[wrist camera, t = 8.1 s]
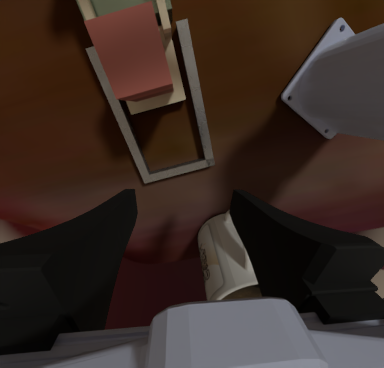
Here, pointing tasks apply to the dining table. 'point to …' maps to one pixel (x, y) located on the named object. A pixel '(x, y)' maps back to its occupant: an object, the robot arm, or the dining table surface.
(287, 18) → the dining table surface
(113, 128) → the dining table surface
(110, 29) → the carriage
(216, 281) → the mug
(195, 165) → the track
